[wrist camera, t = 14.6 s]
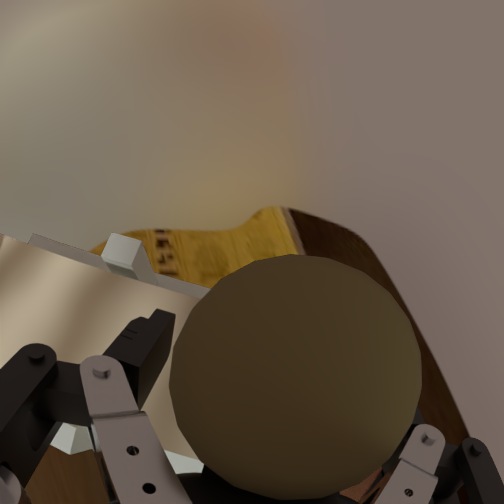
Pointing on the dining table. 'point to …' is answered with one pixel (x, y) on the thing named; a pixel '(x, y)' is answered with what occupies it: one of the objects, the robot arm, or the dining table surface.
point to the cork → (295, 377)
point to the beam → (84, 317)
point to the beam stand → (135, 267)
